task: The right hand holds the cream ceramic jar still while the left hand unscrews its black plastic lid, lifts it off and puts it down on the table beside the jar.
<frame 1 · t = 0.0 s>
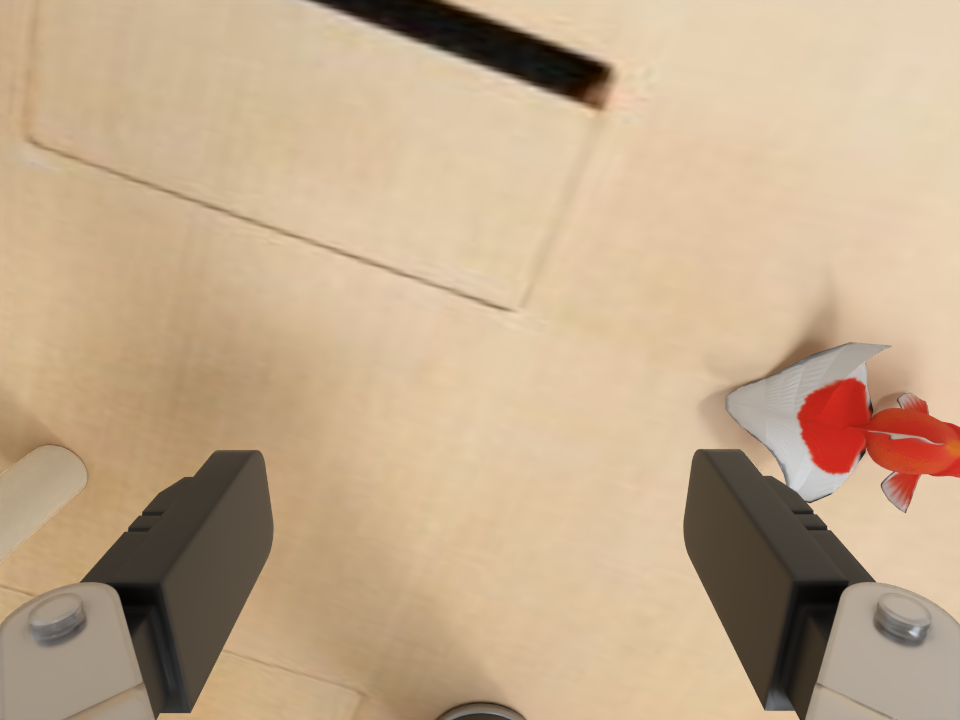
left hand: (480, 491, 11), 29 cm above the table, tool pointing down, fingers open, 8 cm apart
fish: (820, 407, 43), on the table
jar: (57, 471, 45), on the table
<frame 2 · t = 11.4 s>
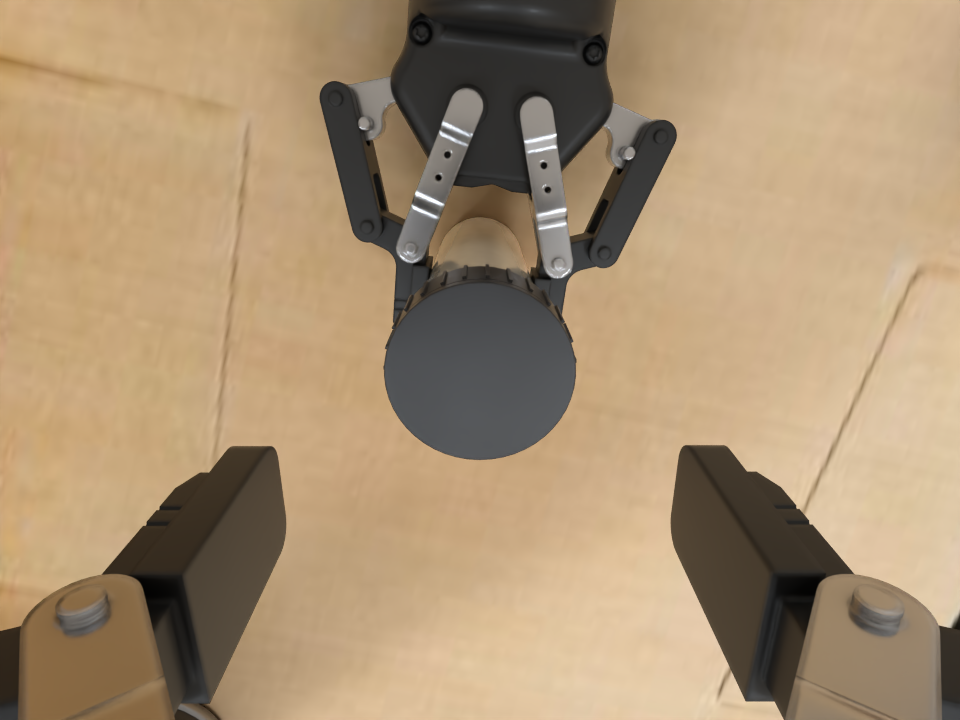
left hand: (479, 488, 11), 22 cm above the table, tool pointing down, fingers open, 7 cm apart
right hand: (474, 346, 27), fingers closed on jar, 4 cm apart
lid: (479, 371, 17), point 16 cm above the table, screwed on, not yet turned
jar: (480, 259, 32), on the table, touching right hand
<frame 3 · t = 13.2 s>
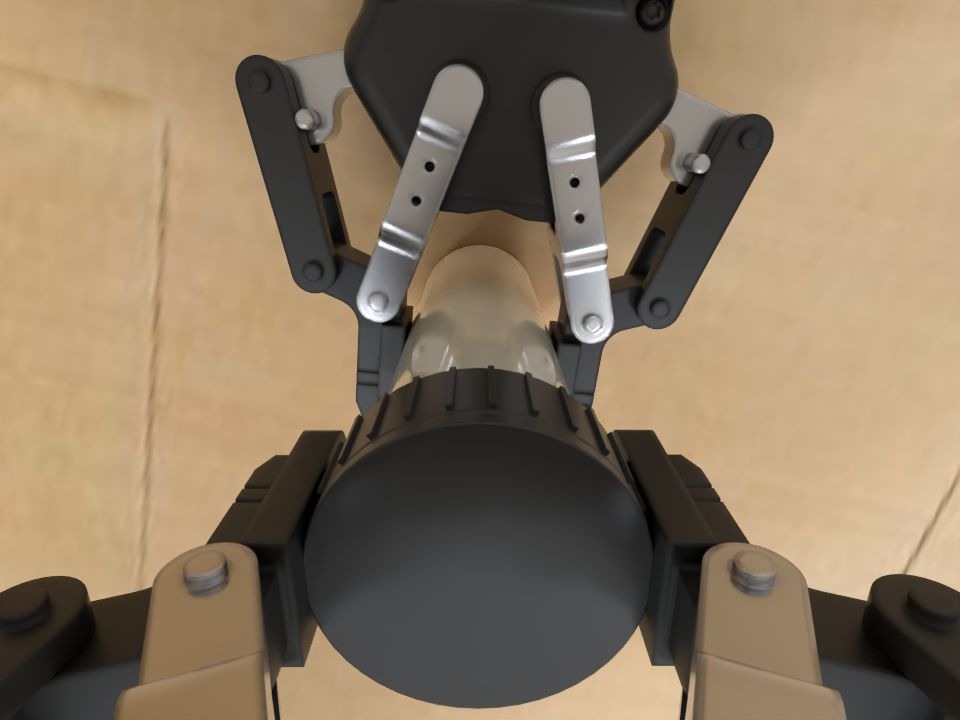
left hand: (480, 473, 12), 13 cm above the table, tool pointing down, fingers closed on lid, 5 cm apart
right hand: (471, 430, 19), fingers closed on jar, 4 cm apart
lid: (478, 565, 9), point 16 cm above the table, screwed on, not yet turned, touching left hand
jar: (479, 299, 24), on the table, touching right hand
when the left hand's fingers open (13 cm above the table, at t = 14.8 s): lid stays where it is, point 16 cm above the table.
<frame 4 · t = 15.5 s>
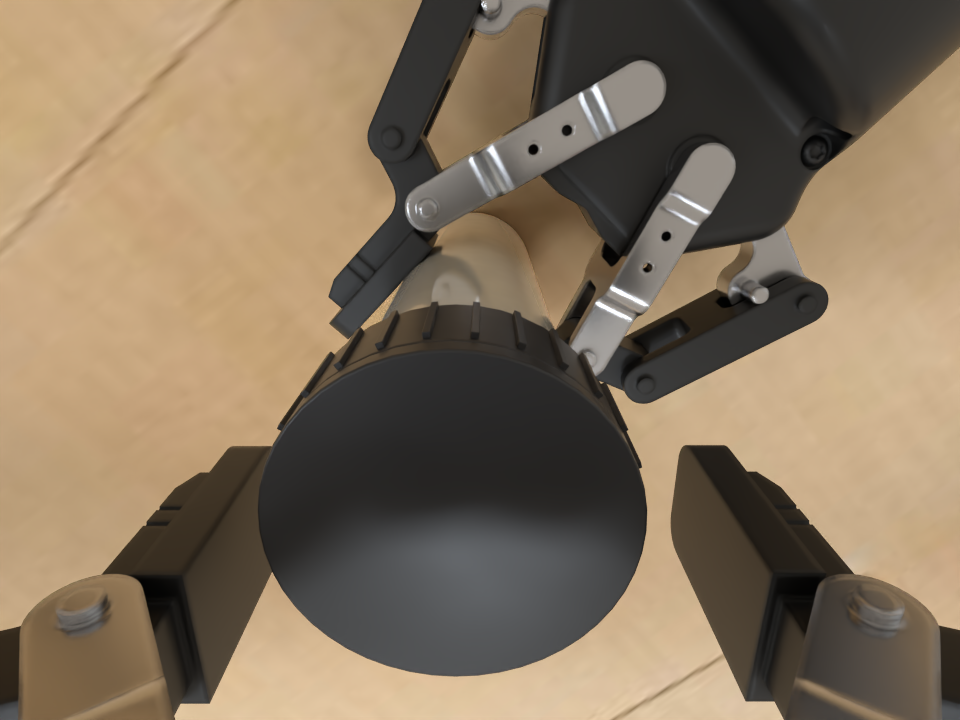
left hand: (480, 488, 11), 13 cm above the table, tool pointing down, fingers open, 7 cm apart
right hand: (410, 377, 19), fingers closed on jar, 4 cm apart
lid: (453, 516, 9), point 16 cm above the table, turned 75° so far, risen 0.2 cm, still on its thread
jar: (473, 269, 24), on the table, touching right hand
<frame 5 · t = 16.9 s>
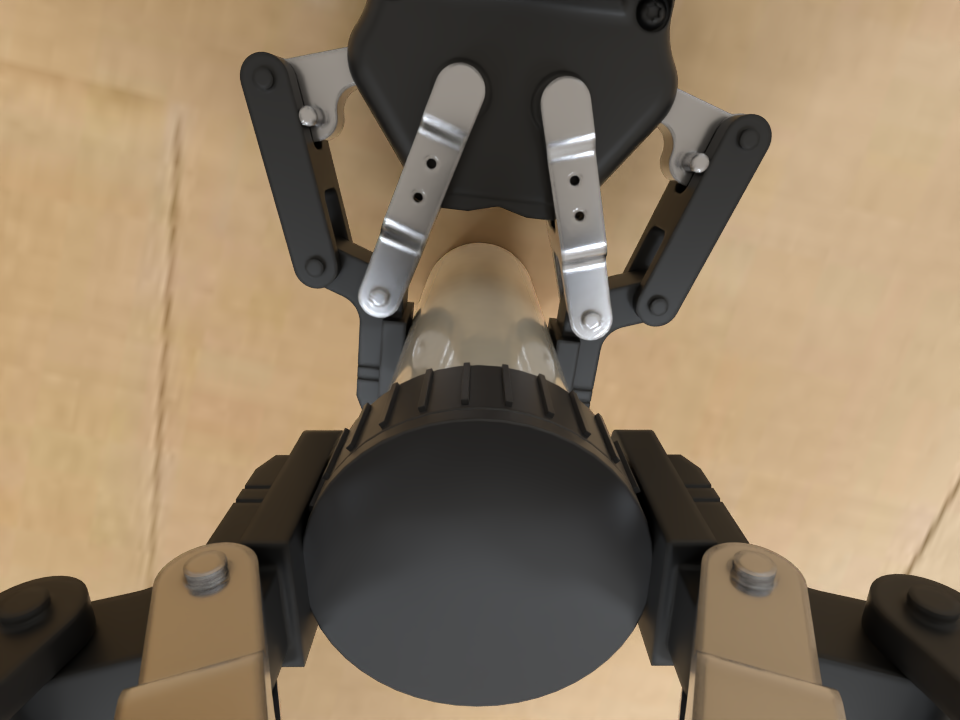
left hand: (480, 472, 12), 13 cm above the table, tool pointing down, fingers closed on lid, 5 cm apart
right hand: (470, 426, 20), fingers closed on jar, 4 cm apart
lid: (477, 562, 9), point 16 cm above the table, turned 75° so far, risen 0.2 cm, still on its thread, touching left hand
jar: (479, 297, 24), on the table, touching right hand
when the left hand's fingers open (0 cm above the table, at t = 23.3 s): lid drops 1 cm, point 2 cm above the table.
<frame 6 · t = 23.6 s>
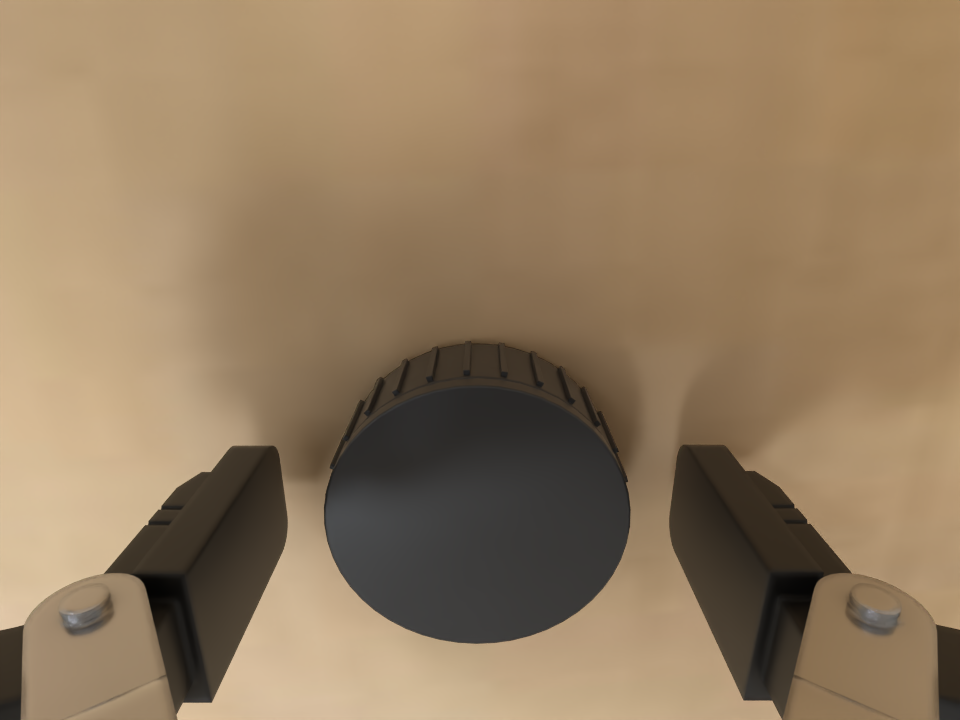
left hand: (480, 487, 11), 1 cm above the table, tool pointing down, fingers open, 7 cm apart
lid: (477, 514, 11), point 2 cm above the table, off its thread
when the right hand's fingers open (6 cm above the table, at t = 24.3 s): jar stays where it is, on the table.
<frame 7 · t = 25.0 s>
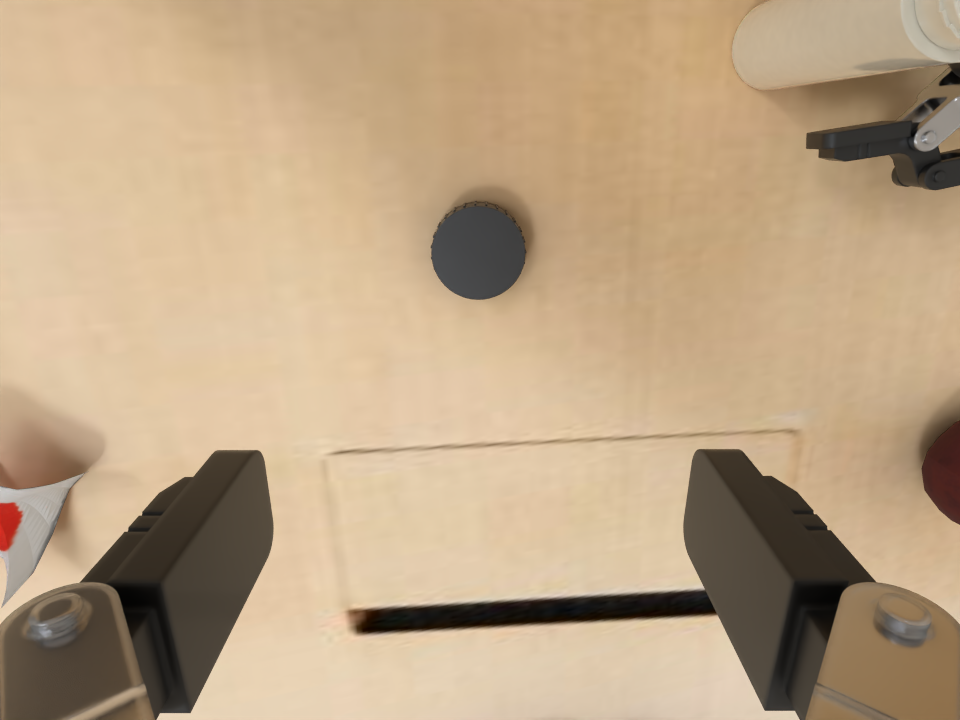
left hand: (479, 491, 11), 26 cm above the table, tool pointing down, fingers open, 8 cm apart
dark red ball: (954, 446, 41), on the table
lid: (478, 253, 35), point 2 cm above the table, off its thread
jar: (773, 45, 32), on the table
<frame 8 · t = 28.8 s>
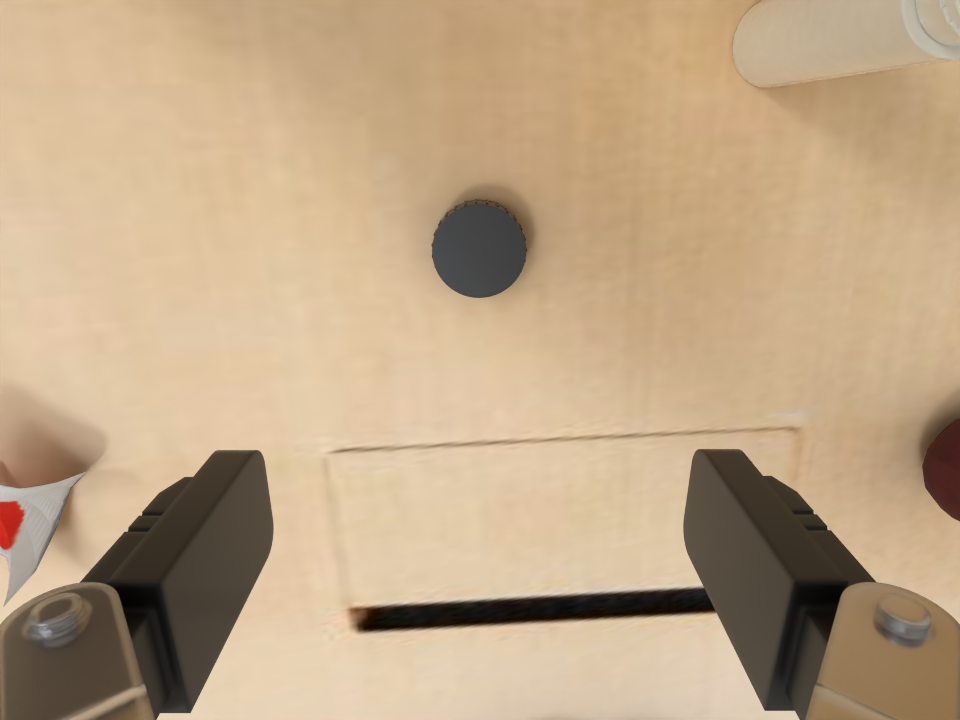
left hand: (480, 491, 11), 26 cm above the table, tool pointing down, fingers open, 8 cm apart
dark red ball: (955, 443, 41), on the table
fish: (1, 480, 42), on the table
lid: (479, 251, 35), point 2 cm above the table, off its thread
jar: (773, 42, 32), on the table
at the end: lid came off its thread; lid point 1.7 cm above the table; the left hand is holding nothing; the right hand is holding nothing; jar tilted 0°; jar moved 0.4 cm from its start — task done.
